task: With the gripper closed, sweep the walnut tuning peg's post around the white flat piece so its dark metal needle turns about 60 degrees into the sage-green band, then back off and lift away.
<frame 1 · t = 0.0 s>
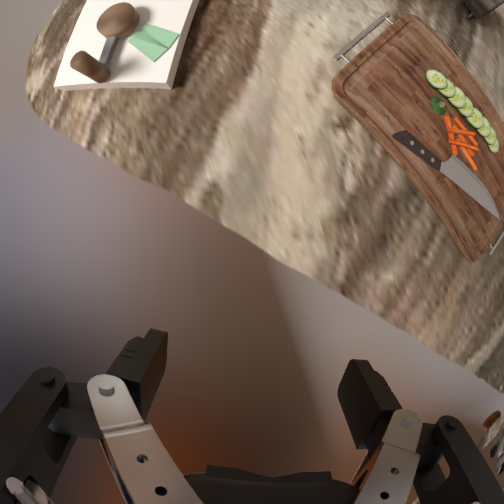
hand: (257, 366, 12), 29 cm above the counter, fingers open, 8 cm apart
alarm clock: (469, 10, 29), on the counter
white flat piece: (129, 33, 32), on the counter
chopping board: (453, 134, 37), on the counter
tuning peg: (103, 34, 26), point 7 cm above the counter, hinge at 0.0°
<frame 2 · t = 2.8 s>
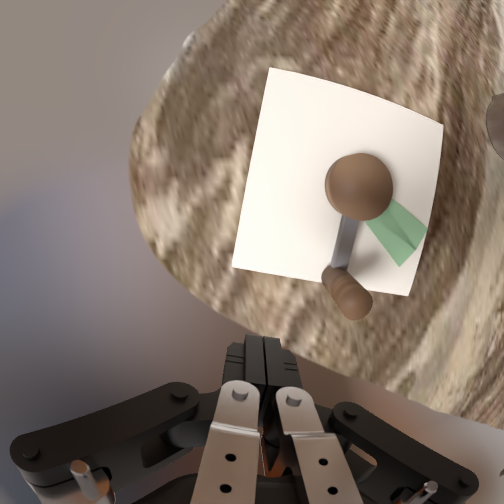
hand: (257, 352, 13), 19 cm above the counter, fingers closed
white flat piece: (343, 185, 29), on the counter
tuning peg: (359, 229, 23), point 7 cm above the counter, hinge at 0.0°
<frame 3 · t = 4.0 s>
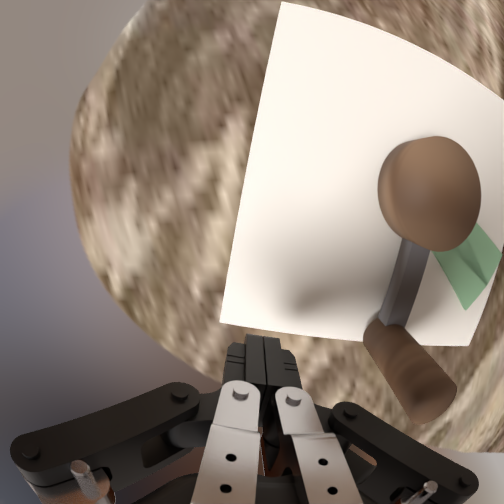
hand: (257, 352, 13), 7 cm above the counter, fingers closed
white flat piece: (394, 188, 18), on the counter
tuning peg: (440, 269, 12), point 7 cm above the counter, hinge at 0.0°
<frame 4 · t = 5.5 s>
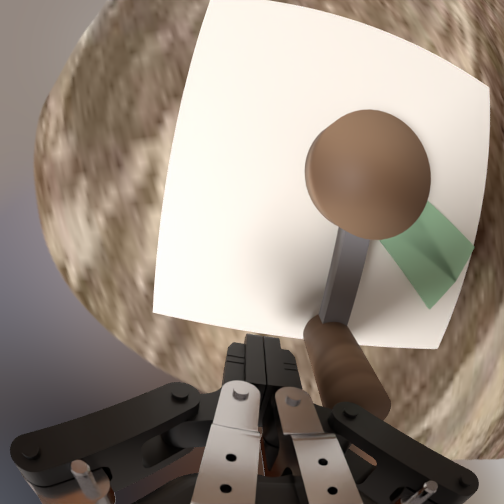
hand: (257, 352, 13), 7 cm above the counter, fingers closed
white flat piece: (340, 175, 18), on the counter
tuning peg: (372, 259, 11), point 7 cm above the counter, hinge at 1.3°, touching gripper
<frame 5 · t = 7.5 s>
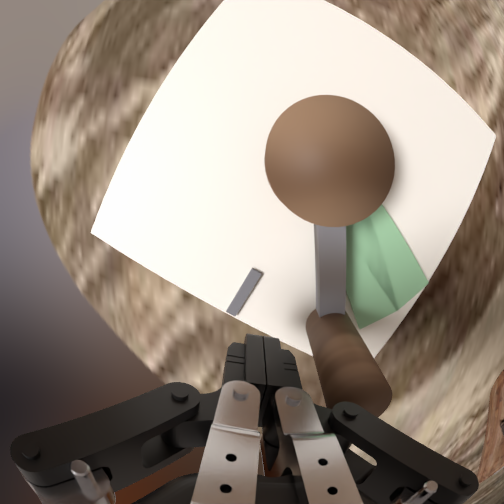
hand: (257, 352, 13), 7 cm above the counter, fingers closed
white flat piece: (311, 166, 18), on the counter
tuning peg: (345, 247, 12), point 7 cm above the counter, hinge at 34.5°, touching gripper
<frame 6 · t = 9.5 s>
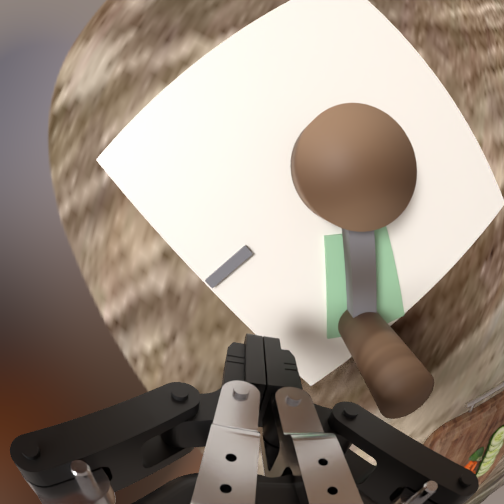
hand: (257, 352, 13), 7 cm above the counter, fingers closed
white flat piece: (328, 170, 18), on the counter
chopping board: (462, 465, 29), on the counter
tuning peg: (380, 250, 12), point 7 cm above the counter, hinge at 57.8°
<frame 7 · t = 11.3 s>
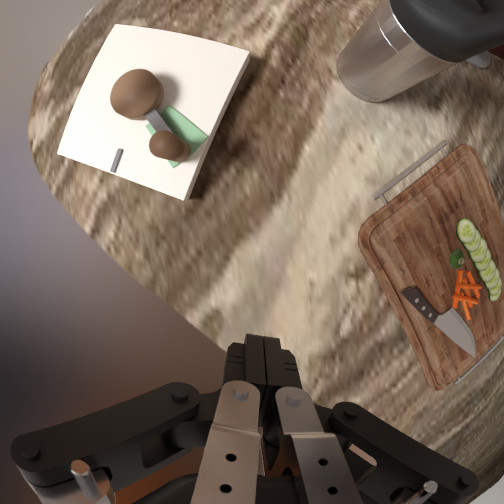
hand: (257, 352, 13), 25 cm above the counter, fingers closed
white flat piece: (149, 104, 33), on the counter
mate gourd: (463, 35, 29), on the counter
chopping board: (460, 282, 40), on the counter
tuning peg: (145, 111, 26), point 7 cm above the counter, hinge at 57.8°
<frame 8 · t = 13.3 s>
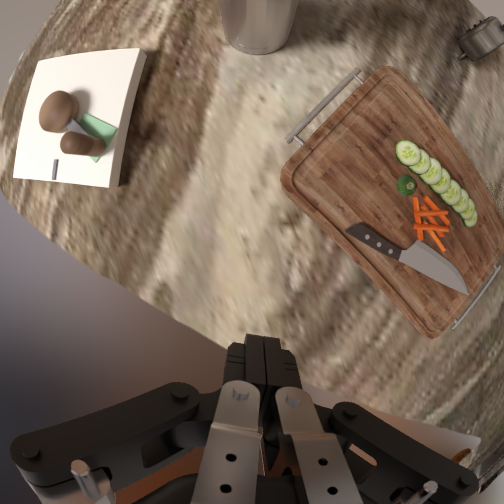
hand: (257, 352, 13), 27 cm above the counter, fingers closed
alarm clock: (462, 47, 31), on the counter
white flat piece: (75, 117, 34), on the counter
chopping board: (422, 212, 39), on the counter
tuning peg: (61, 122, 28), point 7 cm above the counter, hinge at 57.8°
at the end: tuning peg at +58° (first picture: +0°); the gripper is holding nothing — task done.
